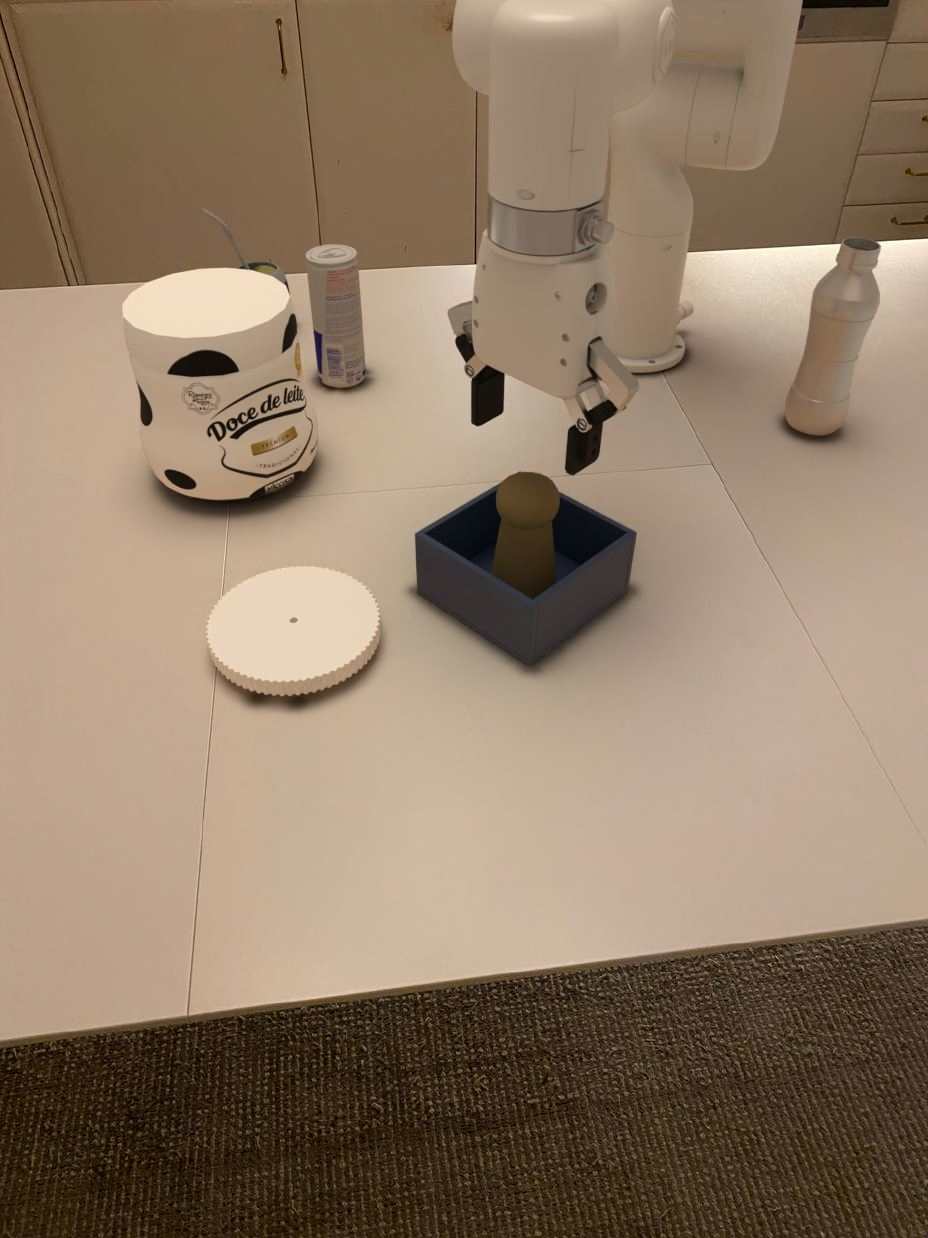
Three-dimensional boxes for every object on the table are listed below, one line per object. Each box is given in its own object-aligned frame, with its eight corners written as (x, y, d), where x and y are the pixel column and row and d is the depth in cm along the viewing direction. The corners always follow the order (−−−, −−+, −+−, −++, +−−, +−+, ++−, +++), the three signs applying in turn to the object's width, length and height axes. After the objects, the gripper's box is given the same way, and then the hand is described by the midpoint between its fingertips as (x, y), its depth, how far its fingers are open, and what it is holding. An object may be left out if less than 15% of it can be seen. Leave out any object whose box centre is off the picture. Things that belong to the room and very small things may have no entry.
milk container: (293, 526, 91) (267, 351, 79) (123, 508, 93) (72, 335, 81) (341, 432, 103) (325, 269, 91) (191, 418, 106) (155, 256, 94)
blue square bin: (517, 528, 91) (519, 470, 86) (628, 591, 84) (637, 532, 80) (416, 592, 84) (414, 533, 79) (529, 666, 77) (533, 606, 73)
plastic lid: (385, 587, 84) (383, 564, 83) (377, 703, 74) (375, 680, 72) (226, 588, 84) (221, 566, 82) (196, 706, 74) (190, 683, 72)
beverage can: (374, 373, 114) (366, 247, 103) (351, 394, 110) (340, 265, 100) (334, 363, 115) (322, 239, 105) (309, 384, 111) (295, 256, 101)
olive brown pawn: (552, 613, 81) (561, 508, 74) (482, 604, 82) (484, 498, 74) (561, 569, 85) (570, 465, 78) (495, 561, 86) (498, 457, 79)
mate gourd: (303, 333, 121) (289, 212, 111) (246, 349, 118) (226, 226, 108) (277, 312, 126) (261, 194, 116) (221, 327, 122) (200, 207, 112)
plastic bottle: (809, 449, 101) (862, 262, 88) (766, 419, 106) (811, 238, 92) (854, 434, 104) (913, 250, 90) (810, 406, 108) (860, 227, 95)
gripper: (687, 239, 60) (651, 466, 72) (487, 173, 69) (485, 385, 81) (613, 275, 56) (589, 509, 68) (412, 201, 65) (421, 419, 77)
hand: (532, 442), depth 74 cm, fingers open, 9 cm apart
